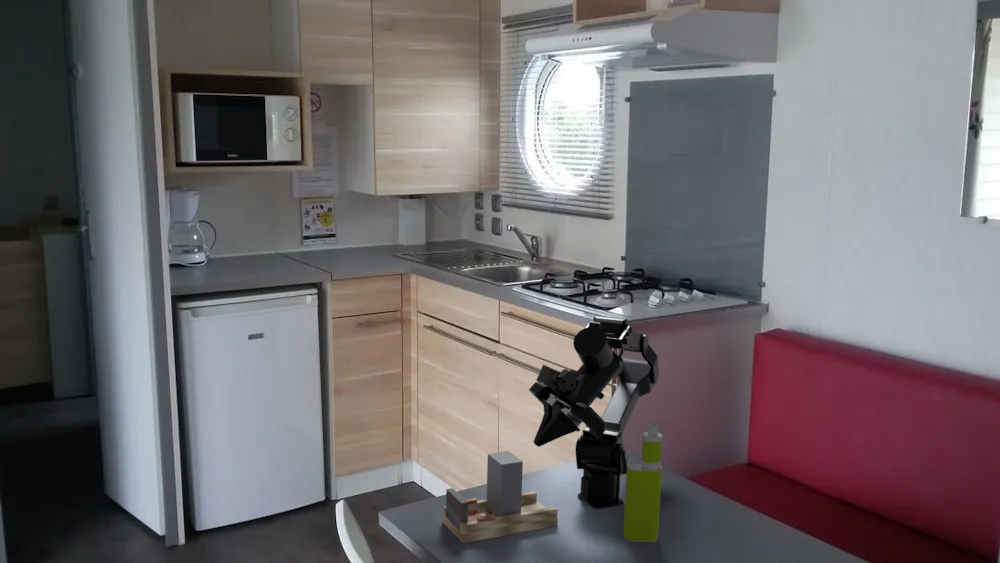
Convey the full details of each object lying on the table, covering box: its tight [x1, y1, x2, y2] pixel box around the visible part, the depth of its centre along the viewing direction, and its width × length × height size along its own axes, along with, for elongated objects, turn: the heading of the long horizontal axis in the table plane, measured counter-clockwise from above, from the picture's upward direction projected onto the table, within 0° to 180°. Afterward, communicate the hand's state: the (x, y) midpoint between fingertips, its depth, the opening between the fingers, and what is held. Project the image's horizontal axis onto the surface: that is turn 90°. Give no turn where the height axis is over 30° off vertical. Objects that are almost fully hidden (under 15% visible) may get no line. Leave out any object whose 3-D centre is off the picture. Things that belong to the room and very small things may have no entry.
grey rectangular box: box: [486, 450, 524, 517], centre depth 153 cm, size 4×6×10 cm
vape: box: [623, 422, 663, 543], centre depth 149 cm, size 4×6×20 cm, turn 88°
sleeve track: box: [442, 487, 559, 544], centre depth 153 cm, size 18×9×6 cm, turn 116°
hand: (535, 444), depth 155 cm, fingers closed
